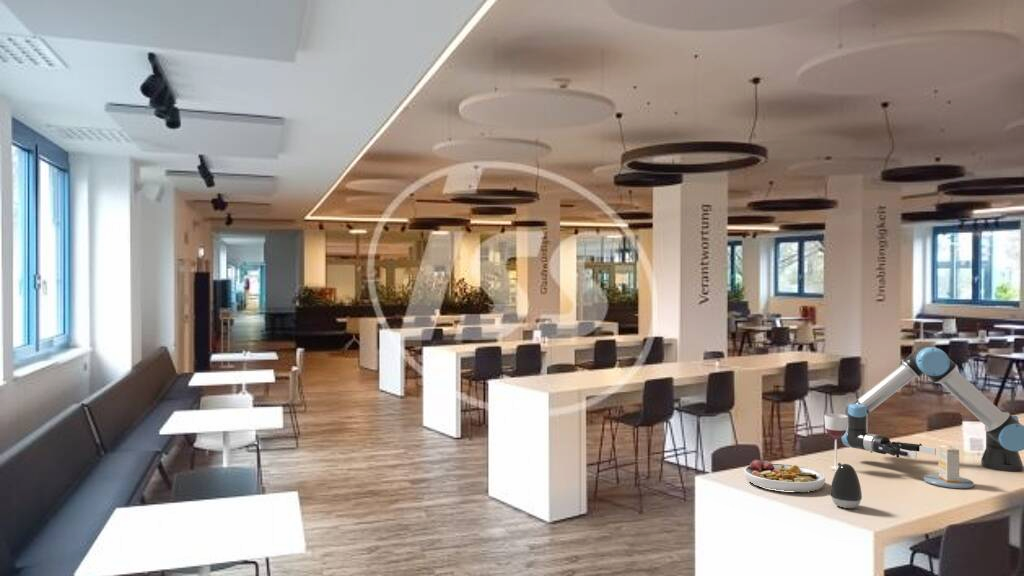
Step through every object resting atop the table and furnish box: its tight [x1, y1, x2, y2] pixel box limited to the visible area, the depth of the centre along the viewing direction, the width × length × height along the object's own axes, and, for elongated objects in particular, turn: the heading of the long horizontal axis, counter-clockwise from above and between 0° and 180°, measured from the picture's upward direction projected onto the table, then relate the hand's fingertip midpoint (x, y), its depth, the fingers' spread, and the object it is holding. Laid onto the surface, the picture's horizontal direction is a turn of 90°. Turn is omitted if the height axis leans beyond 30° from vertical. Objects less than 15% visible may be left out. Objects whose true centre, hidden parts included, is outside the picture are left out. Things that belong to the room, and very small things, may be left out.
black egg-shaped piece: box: [829, 462, 863, 509], centre depth 257 cm, size 10×10×15 cm
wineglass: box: [823, 413, 848, 469], centre depth 312 cm, size 9×10×23 cm
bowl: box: [743, 459, 826, 493], centre depth 287 cm, size 30×30×8 cm
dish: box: [923, 474, 975, 489], centre depth 289 cm, size 17×17×1 cm
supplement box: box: [938, 444, 960, 483], centre depth 289 cm, size 8×5×13 cm, turn 171°
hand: (926, 453), depth 297 cm, fingers open, 13 cm apart
